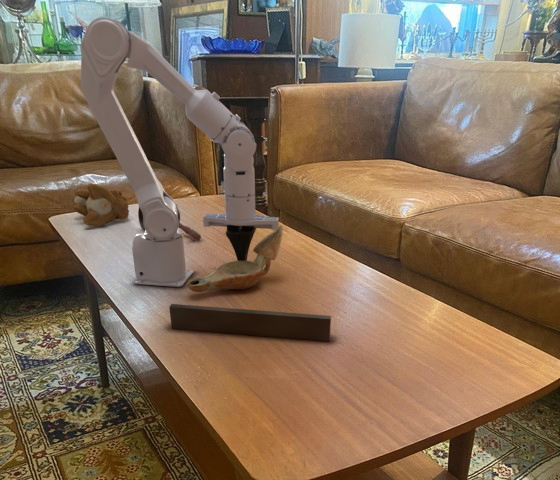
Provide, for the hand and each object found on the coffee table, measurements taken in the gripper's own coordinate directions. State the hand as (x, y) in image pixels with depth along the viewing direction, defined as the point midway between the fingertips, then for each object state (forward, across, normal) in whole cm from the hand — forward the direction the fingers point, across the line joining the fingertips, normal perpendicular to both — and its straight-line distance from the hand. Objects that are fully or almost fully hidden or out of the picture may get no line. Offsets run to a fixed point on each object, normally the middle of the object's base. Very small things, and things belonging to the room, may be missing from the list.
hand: (242, 262), depth 110 cm
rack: (+2, -7, +25) cm, 26 cm away
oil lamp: (+3, 0, +6) cm, 7 cm away
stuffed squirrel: (-2, +41, -28) cm, 49 cm away
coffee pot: (+3, +24, -23) cm, 33 cm away
